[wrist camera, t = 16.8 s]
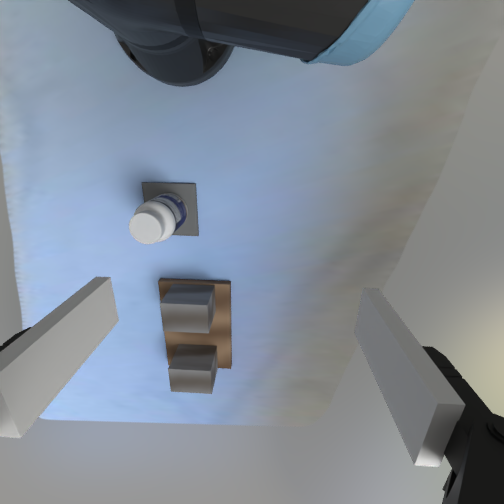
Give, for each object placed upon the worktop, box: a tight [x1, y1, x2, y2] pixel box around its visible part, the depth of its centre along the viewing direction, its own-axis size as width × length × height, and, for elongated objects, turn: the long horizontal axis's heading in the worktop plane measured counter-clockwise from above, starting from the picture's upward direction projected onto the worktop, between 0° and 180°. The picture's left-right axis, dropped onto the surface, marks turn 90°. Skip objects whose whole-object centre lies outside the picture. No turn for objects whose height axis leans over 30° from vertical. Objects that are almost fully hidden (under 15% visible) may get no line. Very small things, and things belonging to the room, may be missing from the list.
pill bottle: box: [129, 193, 188, 244], centre depth 38 cm, size 5×5×10 cm
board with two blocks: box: [158, 278, 232, 394], centre depth 47 cm, size 18×12×7 cm, turn 179°
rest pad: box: [142, 182, 199, 236], centre depth 42 cm, size 8×8×1 cm
